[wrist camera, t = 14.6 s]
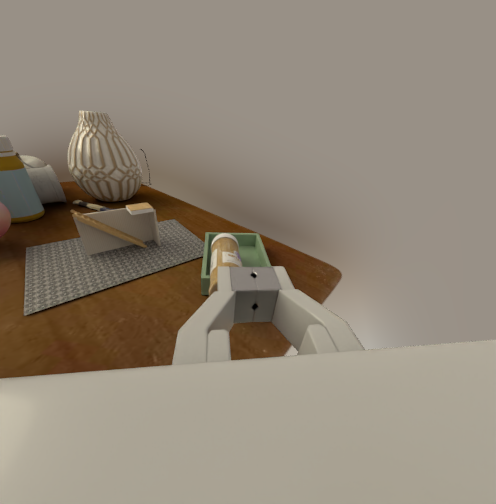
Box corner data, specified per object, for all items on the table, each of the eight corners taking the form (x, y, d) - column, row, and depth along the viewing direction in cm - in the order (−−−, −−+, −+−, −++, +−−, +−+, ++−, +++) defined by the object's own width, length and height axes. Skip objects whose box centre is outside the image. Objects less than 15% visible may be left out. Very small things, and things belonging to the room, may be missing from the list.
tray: (272, 293, 29) (275, 277, 28) (201, 295, 28) (200, 278, 26) (257, 246, 41) (258, 233, 39) (206, 246, 39) (205, 232, 38)
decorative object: (52, 185, 61) (37, 148, 56) (62, 192, 57) (47, 153, 51) (10, 190, 55) (-11, 149, 50) (17, 198, 50) (-5, 154, 45)
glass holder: (66, 205, 54) (-21, 219, 44) (39, 149, 51) (-61, 151, 41) (66, 198, 47) (-35, 213, 38) (35, 133, 44) (-84, 131, 34)
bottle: (29, 209, 46) (-8, 133, 38) (54, 214, 45) (21, 137, 37) (-11, 220, 40) (-65, 132, 32) (16, 226, 39) (-33, 137, 31)
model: (160, 245, 37) (154, 205, 34) (90, 264, 31) (72, 216, 27) (154, 238, 39) (147, 199, 35) (87, 254, 33) (70, 209, 29)
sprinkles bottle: (243, 273, 22) (234, 229, 34) (202, 283, 22) (207, 236, 34) (252, 304, 24) (240, 253, 36) (214, 314, 24) (215, 259, 36)
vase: (133, 187, 67) (119, 114, 57) (155, 200, 58) (143, 116, 48) (73, 193, 57) (42, 106, 47) (88, 210, 48) (53, 107, 37)
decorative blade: (155, 213, 49) (139, 219, 45) (155, 217, 49) (139, 223, 45) (91, 197, 54) (71, 201, 50) (92, 200, 55) (72, 204, 50)
